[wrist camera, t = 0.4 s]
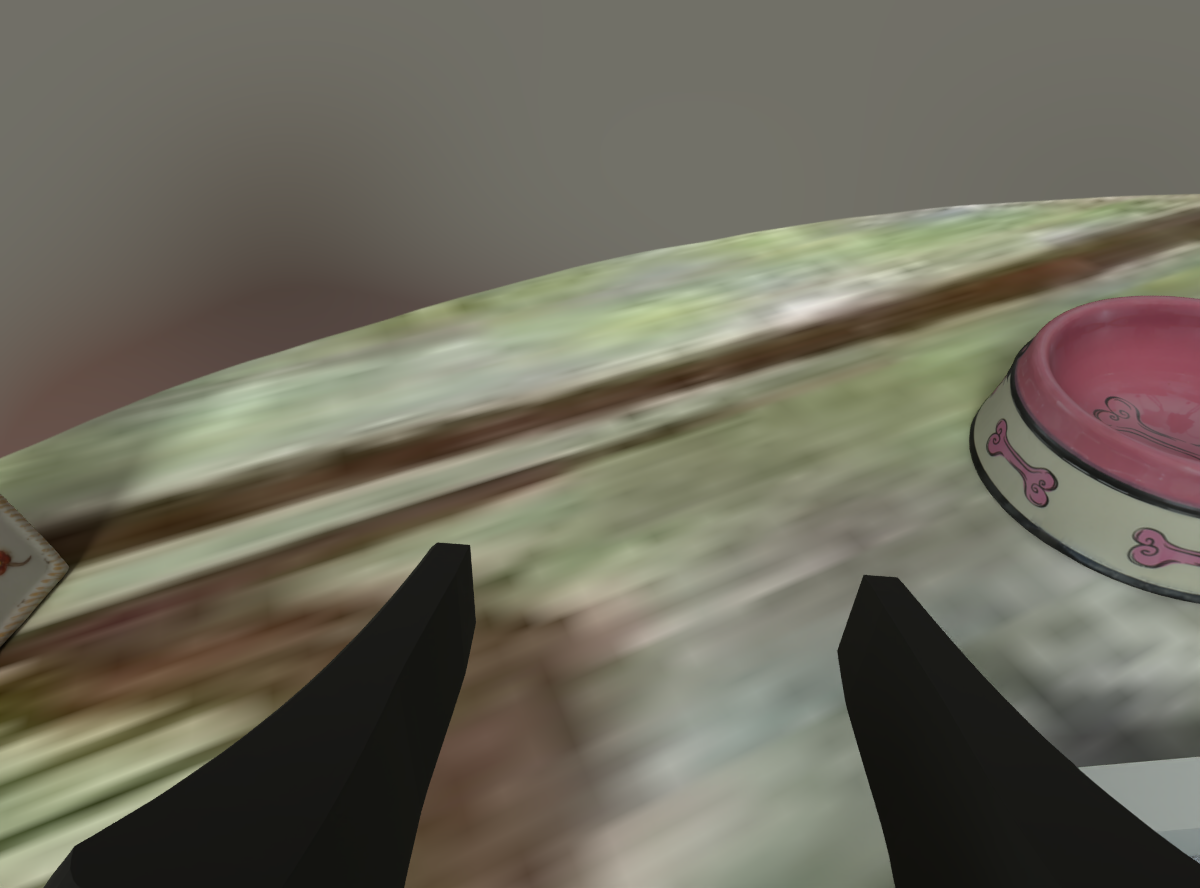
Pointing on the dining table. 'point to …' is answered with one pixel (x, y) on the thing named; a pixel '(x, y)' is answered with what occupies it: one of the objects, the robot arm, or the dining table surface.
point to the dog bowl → (1105, 440)
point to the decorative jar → (23, 569)
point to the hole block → (1158, 796)
